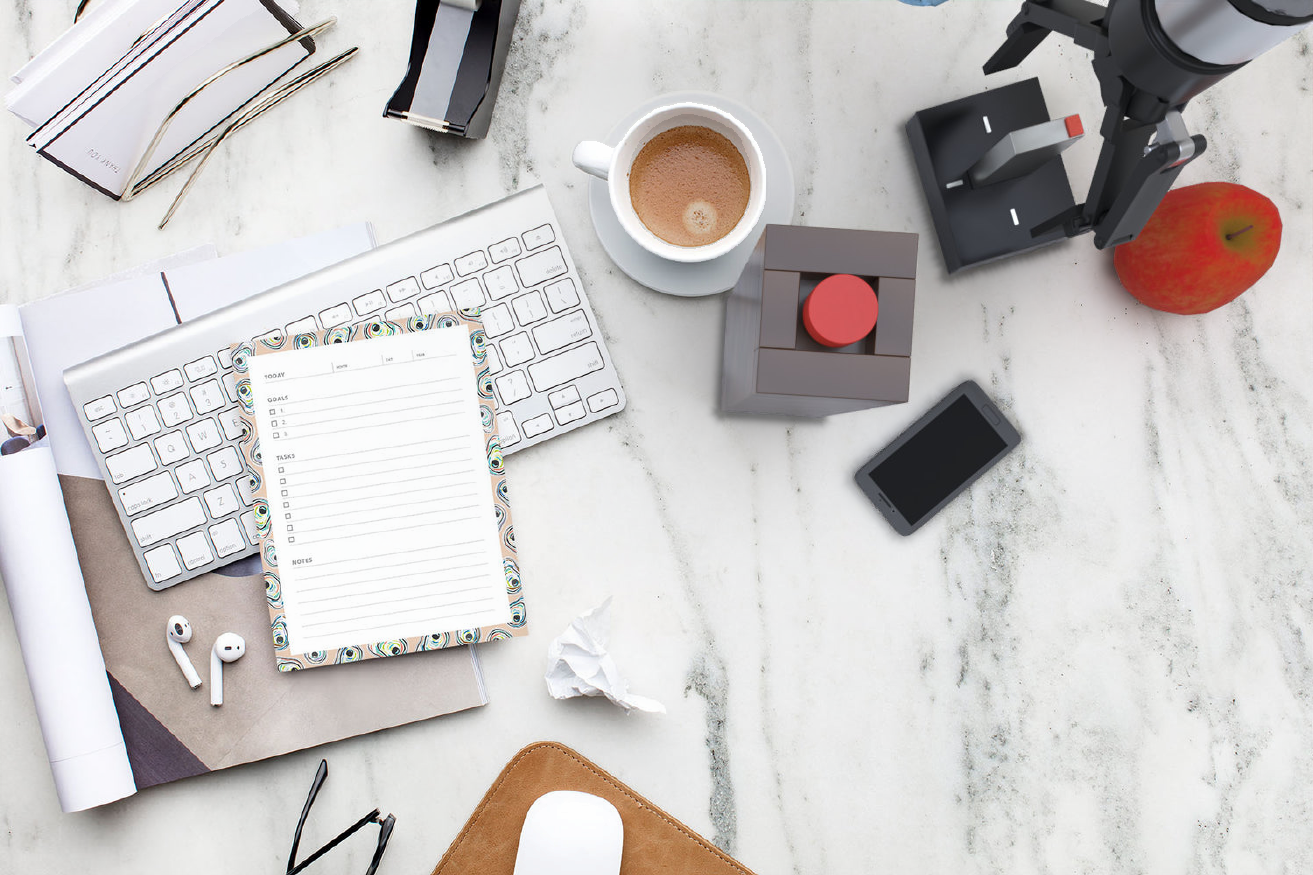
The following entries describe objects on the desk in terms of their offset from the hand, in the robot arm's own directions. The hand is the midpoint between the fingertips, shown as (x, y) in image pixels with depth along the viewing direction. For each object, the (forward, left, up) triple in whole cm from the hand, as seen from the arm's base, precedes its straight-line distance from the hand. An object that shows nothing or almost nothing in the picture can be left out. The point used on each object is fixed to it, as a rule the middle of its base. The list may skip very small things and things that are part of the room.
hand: (1022, 148), depth 62 cm
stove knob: (0, 0, -4) cm, 4 cm away
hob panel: (0, 0, -7) cm, 8 cm away
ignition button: (+17, -18, +17) cm, 30 cm away
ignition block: (+17, -18, -7) cm, 26 cm away
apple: (+6, +16, -8) cm, 19 cm away
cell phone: (+25, -3, -7) cm, 26 cm away
